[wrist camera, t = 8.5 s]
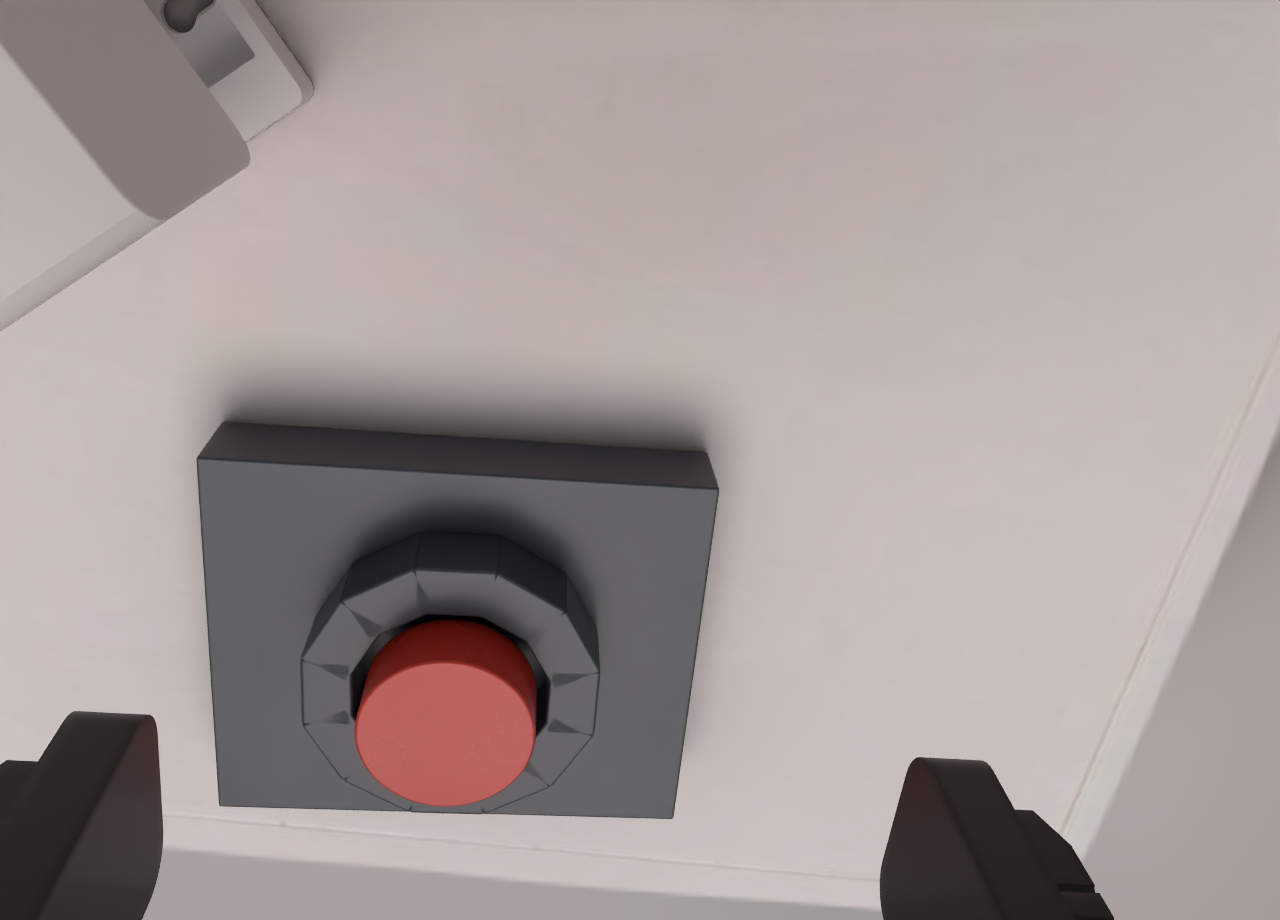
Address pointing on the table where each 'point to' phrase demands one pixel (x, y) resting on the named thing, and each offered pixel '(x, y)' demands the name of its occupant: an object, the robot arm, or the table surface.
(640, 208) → the table surface
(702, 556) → the button box
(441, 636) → the button
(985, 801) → the robot arm
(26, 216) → the security camera
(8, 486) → the table surface
